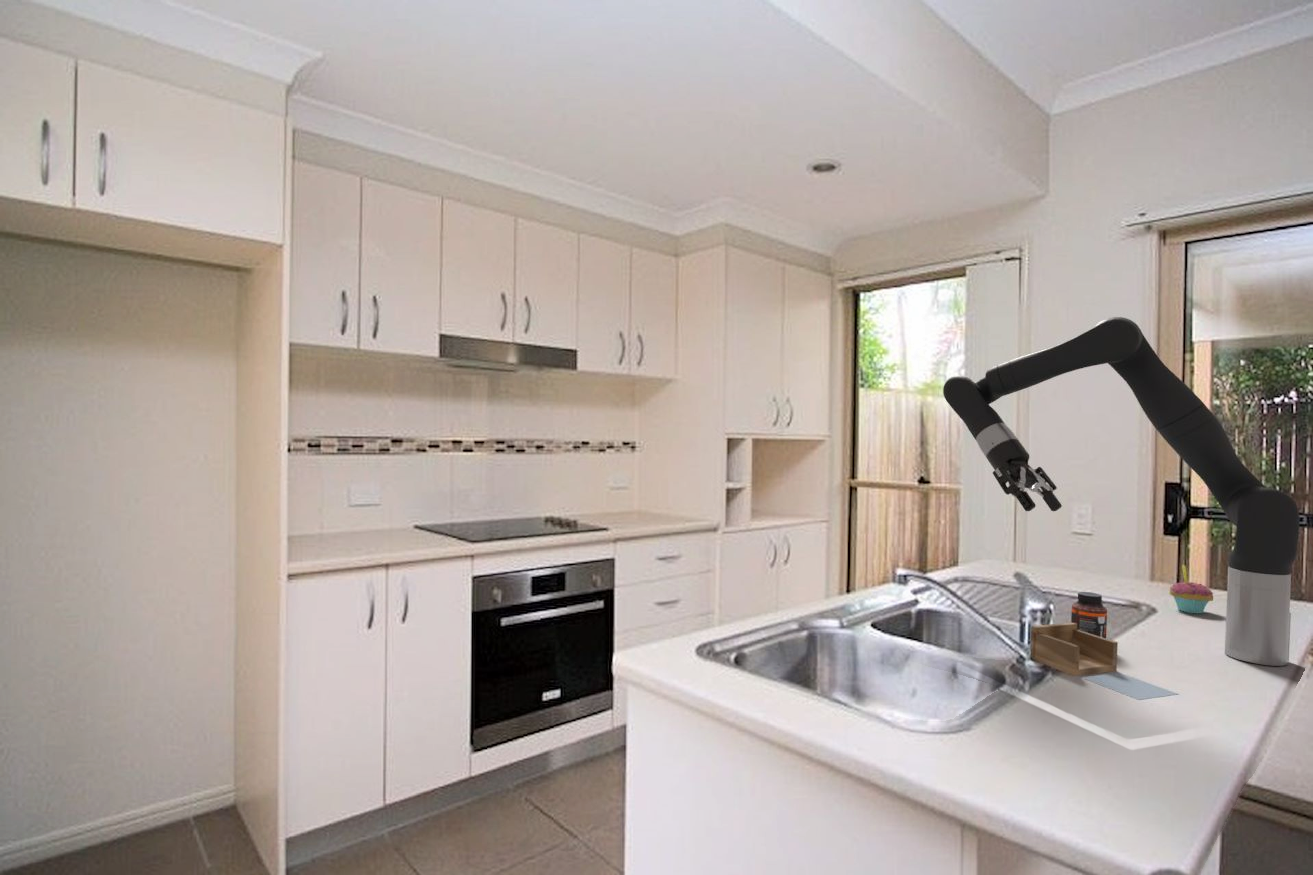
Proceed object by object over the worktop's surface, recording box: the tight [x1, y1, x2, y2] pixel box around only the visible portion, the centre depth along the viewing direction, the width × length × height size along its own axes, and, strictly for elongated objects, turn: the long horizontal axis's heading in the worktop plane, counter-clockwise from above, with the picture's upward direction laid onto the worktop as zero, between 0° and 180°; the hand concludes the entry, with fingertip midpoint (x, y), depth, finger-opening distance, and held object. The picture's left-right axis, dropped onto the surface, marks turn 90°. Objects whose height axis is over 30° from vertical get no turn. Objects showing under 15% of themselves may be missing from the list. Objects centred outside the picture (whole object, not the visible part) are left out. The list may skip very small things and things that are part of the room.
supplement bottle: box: [1070, 591, 1108, 639], centre depth 136 cm, size 6×6×11 cm
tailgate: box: [1080, 672, 1178, 701], centre depth 115 cm, size 9×1×10 cm
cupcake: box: [1169, 561, 1214, 615], centre depth 170 cm, size 9×8×12 cm
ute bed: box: [1030, 622, 1119, 677], centre depth 125 cm, size 10×9×7 cm
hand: (1044, 509), depth 144 cm, fingers open, 8 cm apart
